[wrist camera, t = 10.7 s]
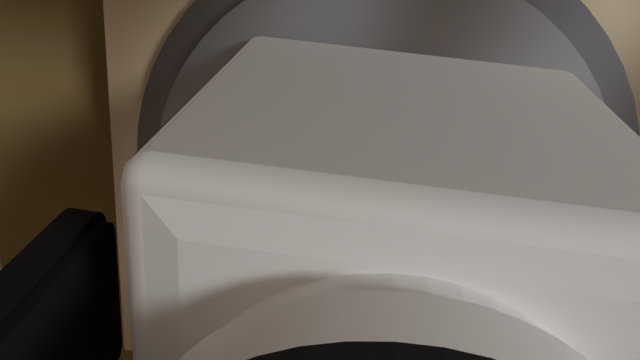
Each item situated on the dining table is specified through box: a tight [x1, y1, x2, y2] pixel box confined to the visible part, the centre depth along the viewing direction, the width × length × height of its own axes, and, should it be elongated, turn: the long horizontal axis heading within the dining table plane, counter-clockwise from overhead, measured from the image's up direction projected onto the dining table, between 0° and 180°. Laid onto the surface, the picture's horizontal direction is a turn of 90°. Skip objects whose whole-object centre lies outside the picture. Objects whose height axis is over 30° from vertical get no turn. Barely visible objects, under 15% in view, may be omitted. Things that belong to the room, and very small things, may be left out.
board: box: [103, 0, 640, 351], centre depth 15 cm, size 14×14×2 cm
